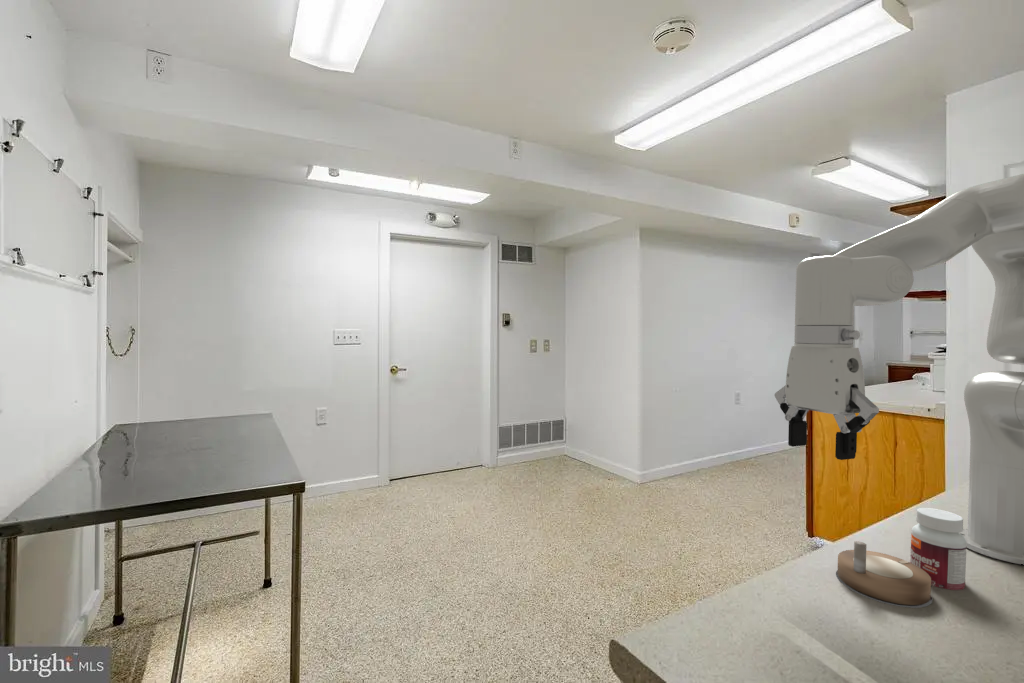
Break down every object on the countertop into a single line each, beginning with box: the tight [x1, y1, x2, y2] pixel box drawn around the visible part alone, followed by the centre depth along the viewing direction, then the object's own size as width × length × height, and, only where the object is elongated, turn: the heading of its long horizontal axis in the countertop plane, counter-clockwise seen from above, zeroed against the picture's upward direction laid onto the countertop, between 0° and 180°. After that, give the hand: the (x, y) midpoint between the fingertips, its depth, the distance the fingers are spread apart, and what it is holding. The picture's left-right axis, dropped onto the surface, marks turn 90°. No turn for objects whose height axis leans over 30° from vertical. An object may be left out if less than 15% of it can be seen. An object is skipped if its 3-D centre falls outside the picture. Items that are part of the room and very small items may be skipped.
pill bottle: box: [909, 507, 968, 591], centre depth 70 cm, size 6×6×11 cm
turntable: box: [837, 540, 932, 605], centre depth 68 cm, size 11×11×6 cm
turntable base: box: [835, 569, 933, 609], centre depth 68 cm, size 11×11×2 cm
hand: (820, 451), depth 73 cm, fingers open, 7 cm apart
